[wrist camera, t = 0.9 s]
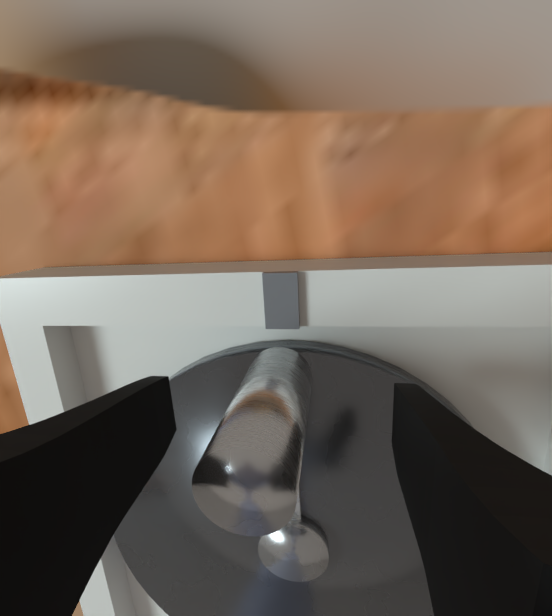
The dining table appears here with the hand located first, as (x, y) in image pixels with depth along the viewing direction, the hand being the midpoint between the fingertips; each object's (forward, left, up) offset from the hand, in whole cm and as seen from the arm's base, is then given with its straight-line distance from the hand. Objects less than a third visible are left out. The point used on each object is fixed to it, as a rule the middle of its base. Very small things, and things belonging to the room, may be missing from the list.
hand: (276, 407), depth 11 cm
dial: (-8, 0, -3) cm, 9 cm away
